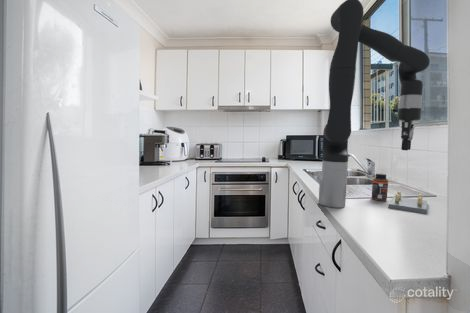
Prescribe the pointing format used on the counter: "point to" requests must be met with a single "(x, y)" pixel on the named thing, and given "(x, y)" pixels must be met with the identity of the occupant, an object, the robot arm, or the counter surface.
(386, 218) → the counter surface
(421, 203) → the plate
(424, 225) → the counter surface
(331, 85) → the robot arm
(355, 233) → the counter surface
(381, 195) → the supplement bottle
